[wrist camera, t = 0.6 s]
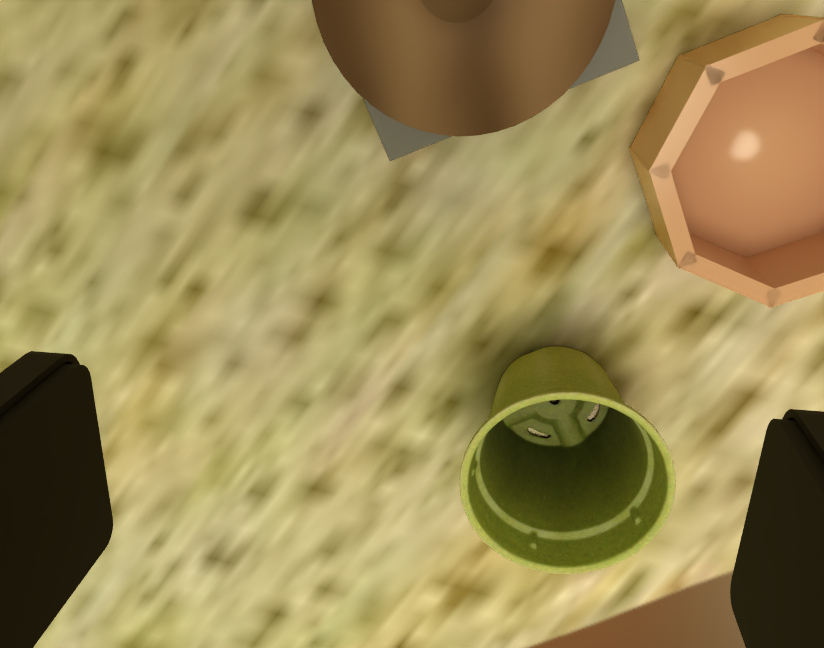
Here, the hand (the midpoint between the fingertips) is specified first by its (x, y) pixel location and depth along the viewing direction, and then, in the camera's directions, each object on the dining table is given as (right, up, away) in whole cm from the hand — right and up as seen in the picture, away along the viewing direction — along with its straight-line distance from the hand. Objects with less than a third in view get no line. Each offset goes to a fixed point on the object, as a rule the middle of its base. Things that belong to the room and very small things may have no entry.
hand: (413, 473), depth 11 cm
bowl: (+16, +10, +25) cm, 32 cm away
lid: (+2, +17, +23) cm, 29 cm away
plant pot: (+8, -2, +32) cm, 33 cm away
